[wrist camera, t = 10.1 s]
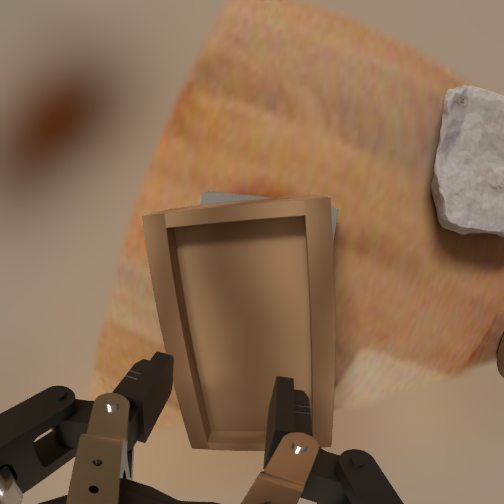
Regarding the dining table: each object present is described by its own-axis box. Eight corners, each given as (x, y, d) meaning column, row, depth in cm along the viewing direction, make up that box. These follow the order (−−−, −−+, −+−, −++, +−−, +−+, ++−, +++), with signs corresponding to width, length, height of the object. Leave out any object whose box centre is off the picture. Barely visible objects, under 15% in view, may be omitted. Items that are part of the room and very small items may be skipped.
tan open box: (317, 194, 19) (330, 198, 14) (323, 399, 22) (331, 446, 17) (175, 208, 20) (142, 216, 15) (207, 403, 23) (191, 448, 18)
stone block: (420, 230, 24) (516, 239, 21) (436, 236, 19) (543, 246, 17) (418, 90, 22) (514, 108, 19) (431, 70, 17) (538, 95, 15)
